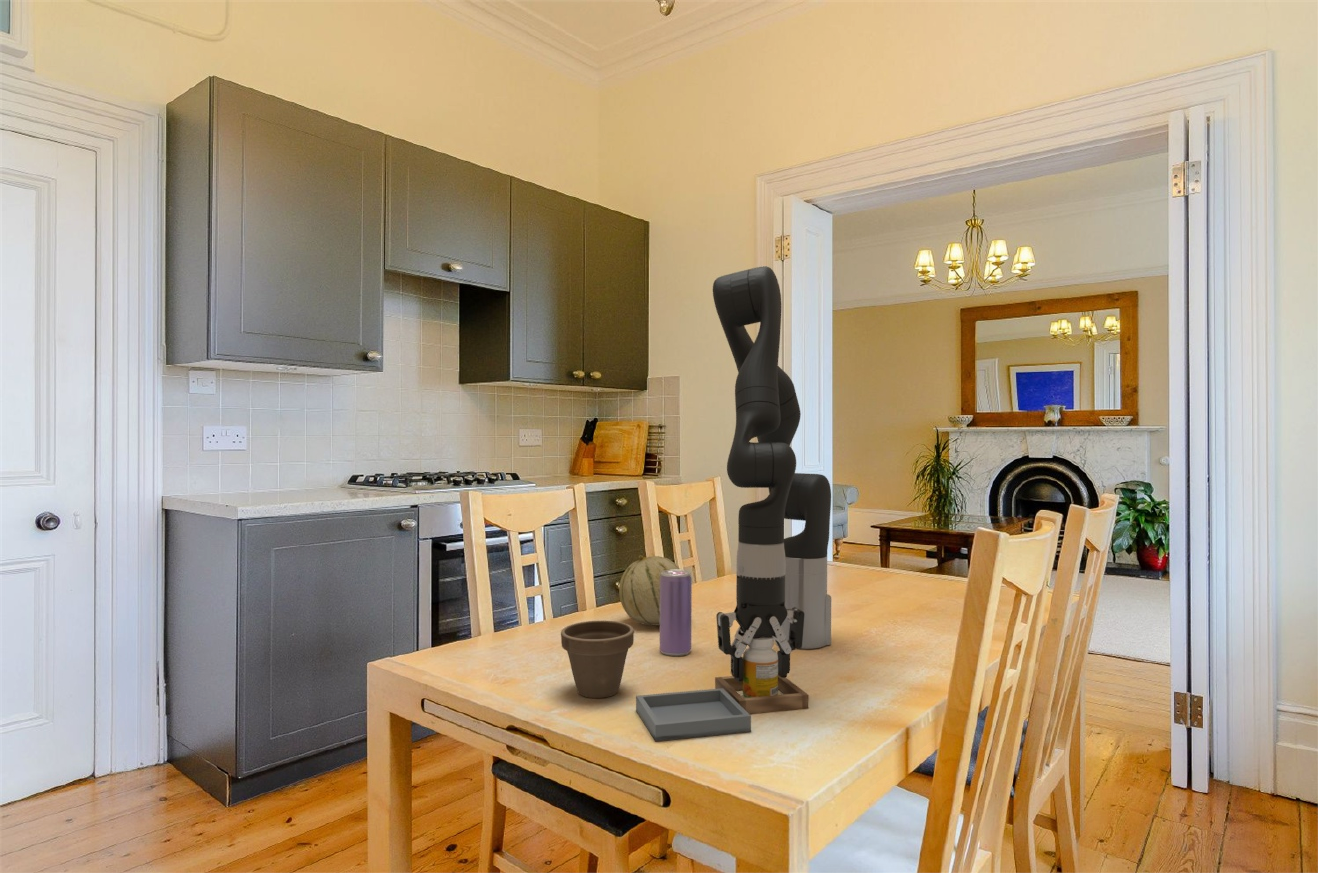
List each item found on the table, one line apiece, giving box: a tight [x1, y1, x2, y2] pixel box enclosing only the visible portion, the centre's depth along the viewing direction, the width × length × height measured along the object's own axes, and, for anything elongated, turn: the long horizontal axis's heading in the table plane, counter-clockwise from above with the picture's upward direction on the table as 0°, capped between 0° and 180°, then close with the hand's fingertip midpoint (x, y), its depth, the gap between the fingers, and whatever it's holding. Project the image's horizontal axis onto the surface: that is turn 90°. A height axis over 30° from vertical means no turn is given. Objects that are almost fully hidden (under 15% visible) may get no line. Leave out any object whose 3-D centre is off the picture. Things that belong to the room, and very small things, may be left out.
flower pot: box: [560, 620, 635, 699], centre depth 120 cm, size 12×11×10 cm
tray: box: [635, 688, 752, 742], centre depth 109 cm, size 14×12×2 cm
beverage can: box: [659, 569, 693, 657], centre depth 142 cm, size 6×6×15 cm
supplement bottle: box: [742, 636, 779, 698], centre depth 118 cm, size 5×5×10 cm
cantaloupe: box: [618, 554, 681, 626], centre depth 163 cm, size 15×15×15 cm
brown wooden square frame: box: [714, 675, 810, 715], centre depth 118 cm, size 11×11×2 cm
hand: (760, 678), depth 118 cm, fingers open, 6 cm apart
